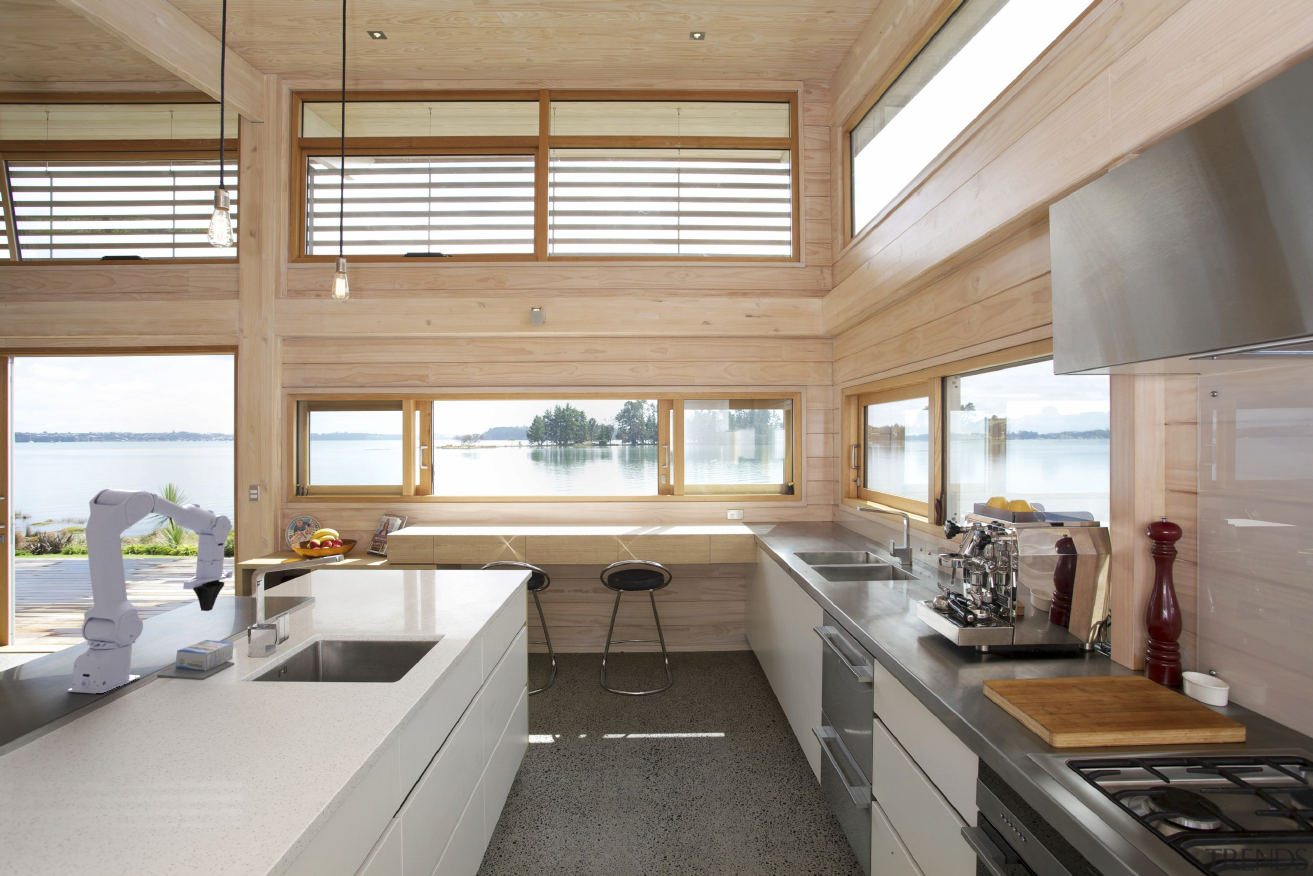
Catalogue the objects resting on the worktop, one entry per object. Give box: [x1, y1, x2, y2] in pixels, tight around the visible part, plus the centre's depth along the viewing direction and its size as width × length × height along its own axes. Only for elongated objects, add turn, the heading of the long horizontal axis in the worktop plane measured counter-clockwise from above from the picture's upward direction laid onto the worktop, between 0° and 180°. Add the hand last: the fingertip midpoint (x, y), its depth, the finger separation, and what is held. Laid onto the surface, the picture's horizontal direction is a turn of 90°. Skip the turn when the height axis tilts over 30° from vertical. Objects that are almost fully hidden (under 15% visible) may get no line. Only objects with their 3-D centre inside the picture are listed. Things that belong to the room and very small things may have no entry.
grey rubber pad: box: [156, 661, 235, 680], centre depth 144 cm, size 10×11×1 cm
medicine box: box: [175, 639, 234, 671], centre depth 148 cm, size 8×4×9 cm
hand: (206, 610), depth 158 cm, fingers closed
